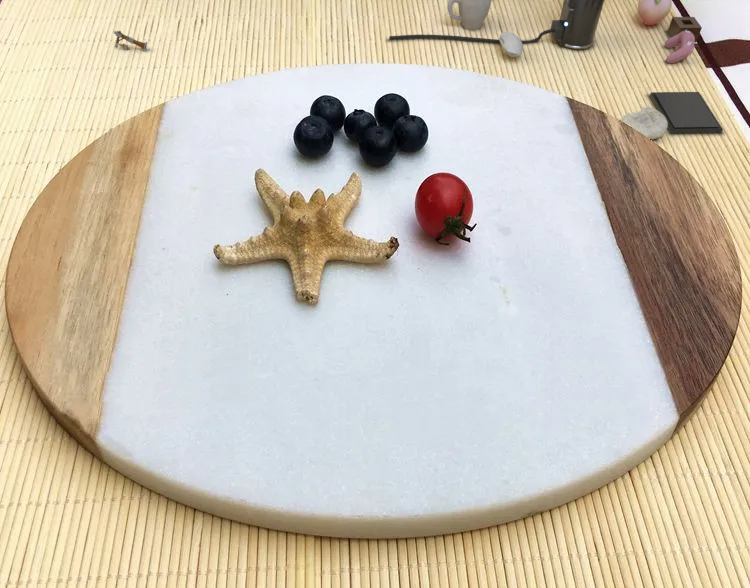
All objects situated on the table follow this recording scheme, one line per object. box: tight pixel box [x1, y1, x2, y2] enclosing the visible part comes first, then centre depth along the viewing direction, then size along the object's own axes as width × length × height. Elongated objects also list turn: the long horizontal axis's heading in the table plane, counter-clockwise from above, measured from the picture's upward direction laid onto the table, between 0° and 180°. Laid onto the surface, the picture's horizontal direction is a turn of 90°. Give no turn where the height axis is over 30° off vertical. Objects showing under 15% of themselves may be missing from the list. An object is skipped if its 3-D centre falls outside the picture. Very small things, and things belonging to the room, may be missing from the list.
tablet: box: [649, 91, 724, 135], centre depth 159 cm, size 12×16×1 cm
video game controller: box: [663, 30, 696, 64], centre depth 174 cm, size 10×5×7 cm, turn 168°
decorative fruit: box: [637, 0, 673, 26], centre depth 182 cm, size 9×8×10 cm
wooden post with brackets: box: [113, 30, 148, 52], centre depth 171 cm, size 2×8×4 cm, turn 88°
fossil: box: [620, 105, 668, 141], centre depth 154 cm, size 11×4×10 cm
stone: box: [498, 31, 524, 58], centre depth 172 cm, size 10×5×5 cm, turn 15°
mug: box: [446, 0, 492, 31], centre depth 180 cm, size 12×9×10 cm
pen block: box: [666, 16, 703, 44], centre depth 181 cm, size 6×6×4 cm
